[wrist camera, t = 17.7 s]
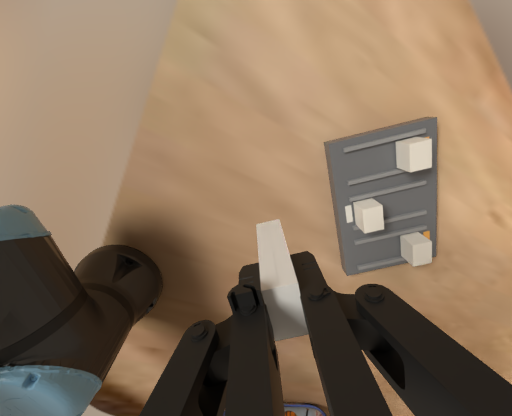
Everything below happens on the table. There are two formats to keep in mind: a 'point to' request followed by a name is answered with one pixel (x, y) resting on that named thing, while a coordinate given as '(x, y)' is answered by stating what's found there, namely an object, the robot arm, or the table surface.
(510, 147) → the table surface
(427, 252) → the switch
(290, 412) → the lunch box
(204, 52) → the table surface
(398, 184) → the switch panel
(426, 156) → the switch
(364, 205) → the switch middle
